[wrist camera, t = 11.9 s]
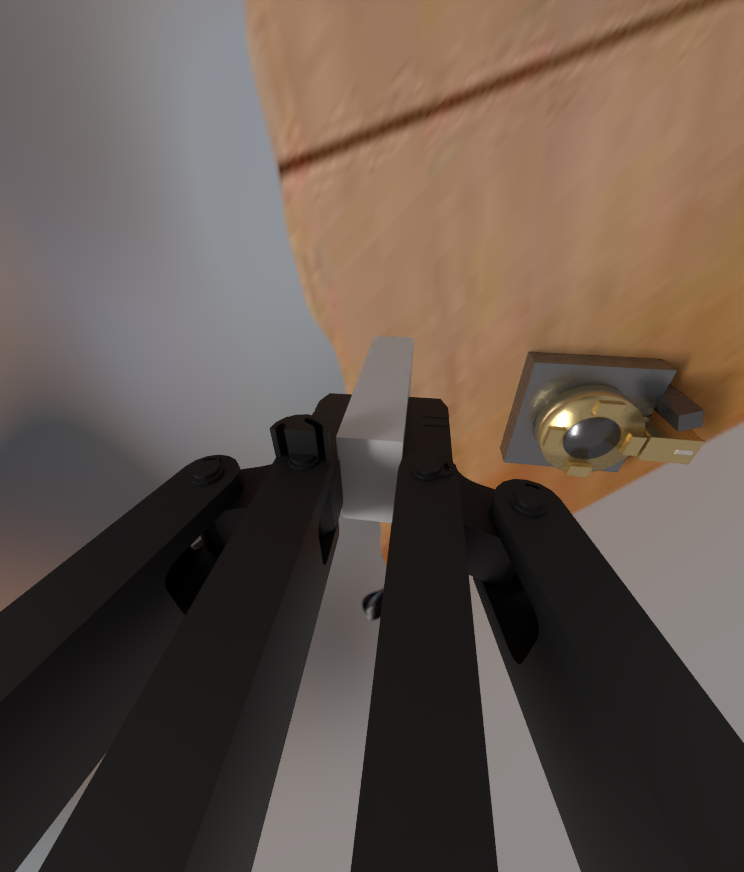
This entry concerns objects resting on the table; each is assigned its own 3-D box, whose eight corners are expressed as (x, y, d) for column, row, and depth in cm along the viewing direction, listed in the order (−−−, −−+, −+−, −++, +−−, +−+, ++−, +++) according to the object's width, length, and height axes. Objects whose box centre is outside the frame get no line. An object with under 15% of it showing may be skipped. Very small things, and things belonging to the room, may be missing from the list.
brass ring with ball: (524, 452, 42) (532, 474, 39) (550, 381, 36) (562, 399, 33) (651, 464, 41) (670, 488, 38) (699, 392, 35) (727, 412, 32)
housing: (528, 351, 38) (545, 379, 33) (681, 360, 36) (727, 390, 31) (500, 448, 46) (510, 483, 41) (624, 458, 45) (652, 496, 39)
